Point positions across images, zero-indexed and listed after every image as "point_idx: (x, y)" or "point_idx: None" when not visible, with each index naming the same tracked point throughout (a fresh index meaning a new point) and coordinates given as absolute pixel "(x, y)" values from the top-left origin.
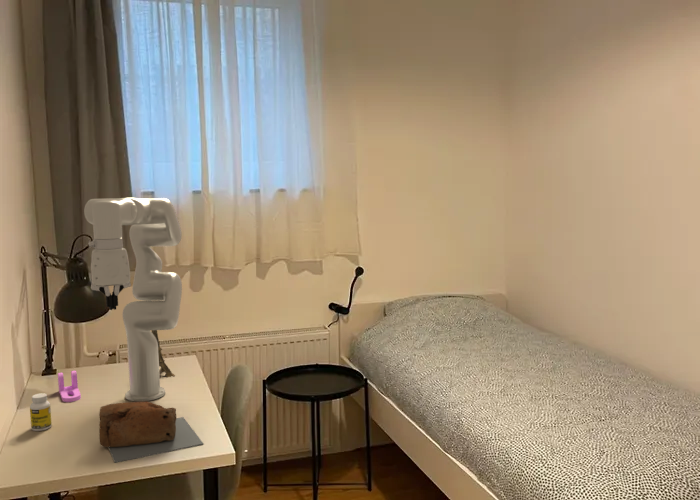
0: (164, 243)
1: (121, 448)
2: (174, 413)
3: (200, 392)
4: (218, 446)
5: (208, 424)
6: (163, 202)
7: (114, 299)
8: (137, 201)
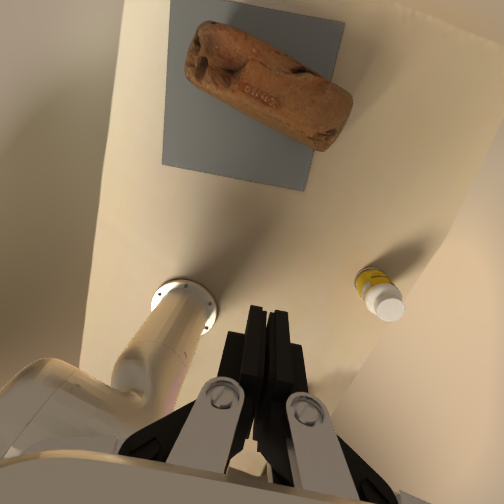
0: None
1: None
2: (197, 28)
3: (100, 263)
4: None
5: (131, 97)
6: None
7: (254, 351)
8: None
